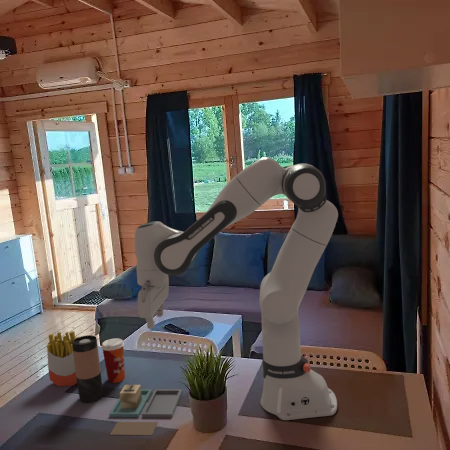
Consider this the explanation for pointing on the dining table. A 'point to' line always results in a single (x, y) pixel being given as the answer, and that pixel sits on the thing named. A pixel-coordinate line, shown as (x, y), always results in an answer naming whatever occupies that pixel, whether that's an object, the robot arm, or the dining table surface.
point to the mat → (134, 428)
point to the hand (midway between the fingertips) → (155, 321)
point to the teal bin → (129, 412)
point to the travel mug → (87, 368)
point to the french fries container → (61, 359)
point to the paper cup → (114, 359)
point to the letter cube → (130, 396)
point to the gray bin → (162, 403)
